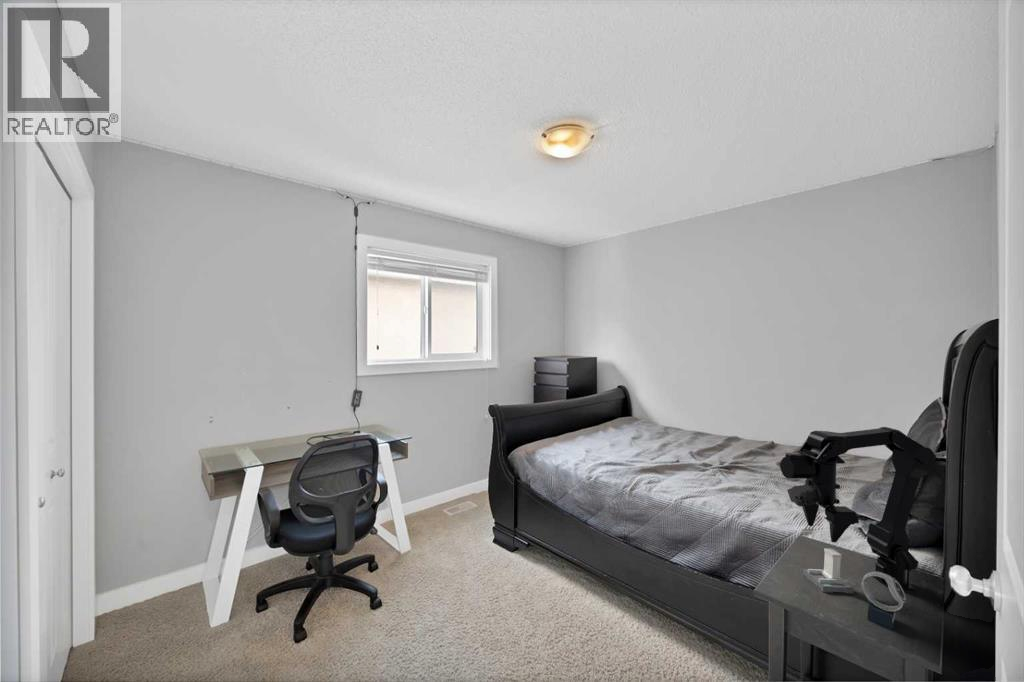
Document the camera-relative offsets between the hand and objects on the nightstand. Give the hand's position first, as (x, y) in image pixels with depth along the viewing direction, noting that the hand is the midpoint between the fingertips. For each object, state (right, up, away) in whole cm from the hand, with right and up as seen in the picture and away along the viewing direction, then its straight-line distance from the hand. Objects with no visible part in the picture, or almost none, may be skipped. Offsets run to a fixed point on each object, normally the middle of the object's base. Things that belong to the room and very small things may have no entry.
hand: (821, 533), depth 115 cm
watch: (+4, -14, -15) cm, 21 cm away
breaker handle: (+2, -12, -1) cm, 12 cm away
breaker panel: (+1, -13, -1) cm, 13 cm away
